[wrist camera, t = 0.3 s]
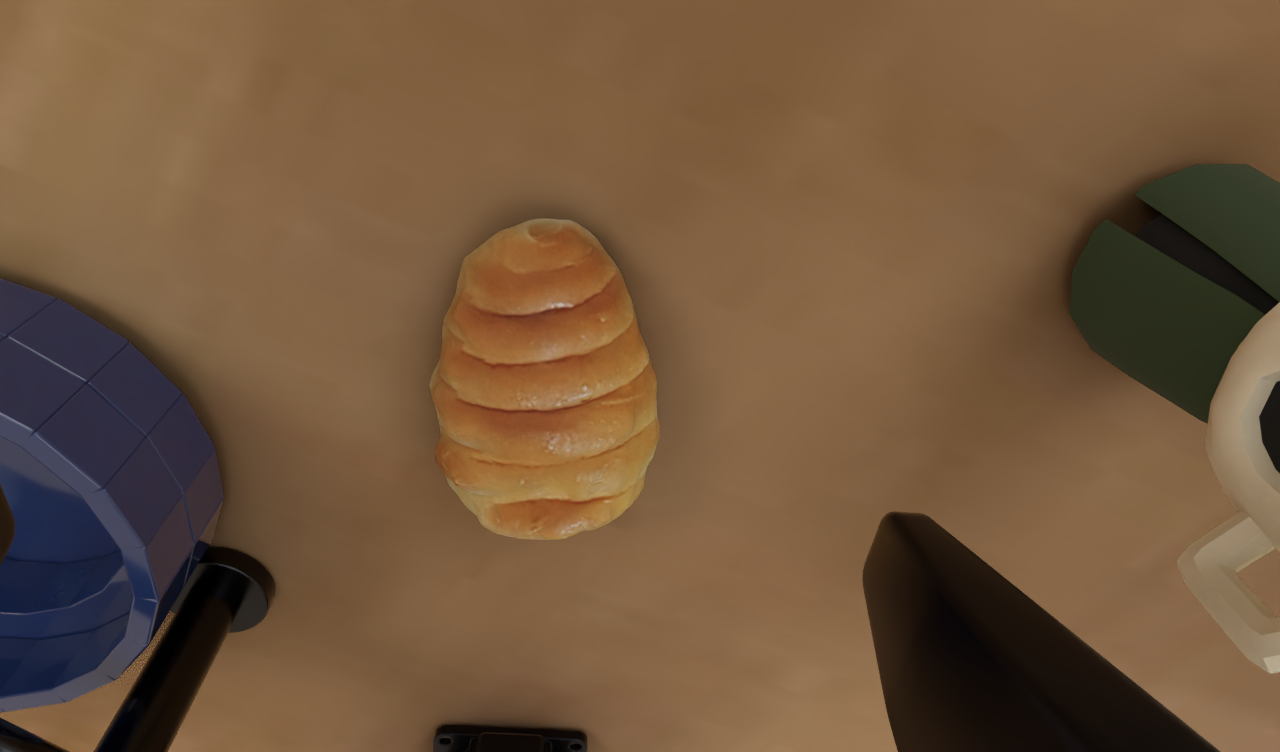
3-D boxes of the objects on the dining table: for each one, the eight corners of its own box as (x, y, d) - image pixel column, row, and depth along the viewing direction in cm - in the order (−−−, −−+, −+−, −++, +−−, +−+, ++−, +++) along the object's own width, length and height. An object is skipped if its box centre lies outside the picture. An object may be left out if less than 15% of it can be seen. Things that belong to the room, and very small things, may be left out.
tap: (296, 586, 29) (192, 824, 21) (233, 629, 30) (113, 869, 22) (115, 463, 25) (-82, 693, 18) (51, 515, 26) (-158, 753, 19)
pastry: (415, 208, 21) (383, 265, 18) (661, 206, 22) (673, 261, 18) (455, 477, 26) (435, 559, 23) (654, 472, 27) (663, 552, 23)
